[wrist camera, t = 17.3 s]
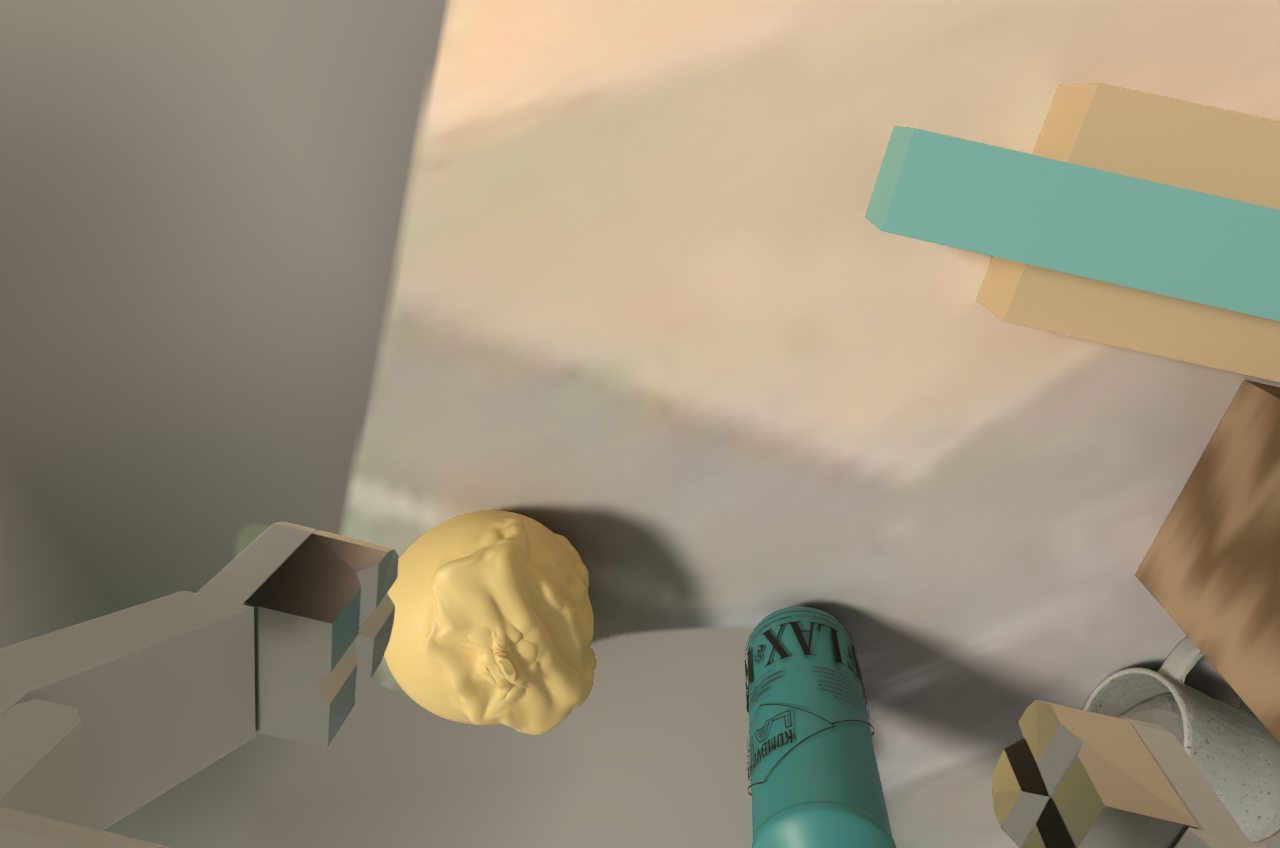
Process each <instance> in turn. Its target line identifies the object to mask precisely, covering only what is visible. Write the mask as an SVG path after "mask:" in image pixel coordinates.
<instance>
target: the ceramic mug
mask: <svg viewBox="0 0 1280 848" xmlns="http://www.w3.org/2000/svg"><path fill="white" fill-rule="evenodd" d="M1203 656H1204V655H1203V654H1202V652H1201V651H1200V650H1199V649H1198V648H1197V647H1196V645H1195V644H1194V643H1193V642H1192V641H1191V640H1190V638H1189V637H1187V638H1186V639H1184V640H1182V641H1181V642H1180V643H1179V644H1177V645H1176V646H1175V648H1174V649H1173V650H1172V652H1171V653H1170V654H1169V655H1168V657H1167V658H1166V659H1165V661H1164V663H1163V664H1162V666H1161V668H1160V669H1159V671H1158V672H1157V671H1154V670H1151V669H1148V668H1127V669H1124V670H1120V671H1117V672H1116V673H1114V674H1112V675H1111V676H1109V677H1107V678H1106V679H1105V680H1103V681H1102V682H1101V683H1100V684H1099V685H1098V686H1097V687H1096V688H1095V690H1094V691H1093V692H1092V694H1091V695H1090V696H1089V698H1088V700H1087V702H1086V704H1085V706H1084V709H1083V710H1085V711H1090V712H1094V713H1098V714H1103V715H1107V716H1112V717H1116V718H1117V717H1123V718H1128V719H1133V720H1138V721H1143V722H1147V723H1152V724H1157V725H1161V726H1163V727H1164V728H1166V729H1167V730H1168V731H1170V732H1171V733H1173V734H1174V735H1175V737H1176V738H1177V740H1178V741H1179V742H1180V744H1181V745H1182V747H1183V748H1184V749H1185V751H1186V752H1187V754H1188V755H1189V756H1190V758H1191V759H1192V761H1193V762H1194V764H1195V765H1196V766H1197V768H1198V769H1199V771H1200V772H1201V773H1202V775H1203V776H1204V778H1205V779H1206V780H1207V782H1208V783H1209V785H1210V786H1211V787H1212V789H1213V790H1214V792H1215V793H1216V795H1217V796H1218V797H1219V799H1220V800H1221V802H1222V803H1223V804H1224V806H1225V807H1226V809H1227V810H1228V811H1229V813H1230V814H1231V816H1232V817H1233V818H1234V820H1235V821H1236V823H1237V824H1238V826H1239V827H1240V828H1241V830H1242V831H1243V833H1244V834H1245V835H1246V837H1247V838H1248V840H1249V841H1250V842H1253V843H1256V842H1261V841H1264V840H1266V839H1268V838H1270V837H1272V836H1275V835H1276V834H1277V833H1279V832H1280V743H1279V742H1278V741H1277V740H1276V738H1275V737H1274V736H1273V735H1272V734H1271V733H1270V731H1269V730H1268V729H1267V728H1266V727H1265V726H1264V724H1263V723H1262V722H1261V721H1260V720H1259V719H1258V717H1257V716H1256V715H1255V714H1254V713H1253V712H1252V710H1251V709H1250V708H1249V707H1248V706H1247V705H1246V704H1245V702H1244V701H1243V700H1242V702H1241V704H1240V707H1239V708H1238V709H1236V708H1234V707H1233V706H1231V705H1228V704H1226V703H1224V702H1222V701H1220V700H1216V699H1213V698H1211V697H1209V696H1207V695H1205V694H1204V693H1202V692H1200V691H1198V690H1196V689H1195V688H1193V687H1190V686H1188V685H1185V684H1184V681H1185V678H1186V675H1187V674H1188V673H1189V672H1190V671H1191V669H1192V668H1193V667H1194V666H1195V665H1196V663H1197V662H1198V661H1199V660H1200V659H1201V658H1202V657H1203Z"/></svg>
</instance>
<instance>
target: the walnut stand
mask: <svg viewBox="0 0 1280 848" xmlns="http://www.w3.org/2000/svg"><path fill="white" fill-rule="evenodd" d="M1135 576H1136V577H1137V578H1138V579H1139V580H1140V581H1141V583H1142V584H1143V585H1144V586H1145V587H1146V588H1147V590H1148V591H1149V592H1150V593H1151V594H1152V595H1153V597H1154V598H1155V599H1156V600H1157V601H1158V602H1159V603H1160V605H1161V606H1162V607H1163V608H1164V609H1165V610H1166V612H1167V613H1168V614H1169V615H1170V616H1171V617H1172V619H1173V620H1174V621H1175V622H1176V623H1177V624H1178V626H1179V627H1180V628H1181V629H1182V630H1183V631H1184V633H1185V634H1186V635H1187V636H1188V637H1189V638H1190V640H1191V641H1192V642H1193V643H1194V644H1195V645H1196V647H1197V648H1198V649H1199V650H1200V651H1201V652H1202V654H1203V655H1204V656H1205V657H1206V658H1207V659H1208V660H1209V662H1210V663H1211V664H1212V665H1213V666H1214V667H1215V669H1216V670H1217V671H1218V672H1219V673H1220V674H1221V676H1222V677H1223V678H1224V679H1225V680H1226V681H1227V683H1228V684H1229V685H1230V686H1231V687H1232V688H1233V690H1234V691H1235V692H1236V693H1237V694H1238V695H1239V697H1240V698H1241V699H1242V700H1243V701H1244V702H1245V704H1246V705H1247V706H1248V707H1249V708H1250V709H1251V710H1252V712H1253V713H1254V714H1255V715H1256V716H1257V717H1258V719H1259V720H1260V721H1261V722H1262V723H1263V724H1264V726H1265V727H1266V728H1267V729H1268V730H1269V731H1270V733H1271V734H1272V735H1273V736H1274V737H1275V738H1276V740H1277V741H1278V742H1279V743H1280V388H1279V387H1274V386H1270V385H1265V384H1261V383H1256V382H1251V381H1247V380H1244V381H1243V383H1242V385H1241V387H1240V388H1239V390H1238V392H1237V394H1236V396H1235V397H1234V399H1233V401H1232V403H1231V405H1230V406H1229V408H1228V410H1227V412H1226V414H1225V415H1224V417H1223V419H1222V421H1221V422H1220V424H1219V426H1218V428H1217V430H1216V431H1215V433H1214V435H1213V437H1212V439H1211V440H1210V442H1209V444H1208V446H1207V448H1206V449H1205V451H1204V453H1203V455H1202V457H1201V458H1200V460H1199V462H1198V464H1197V465H1196V467H1195V469H1194V471H1193V473H1192V474H1191V476H1190V478H1189V480H1188V482H1187V483H1186V485H1185V487H1184V489H1183V491H1182V492H1181V494H1180V496H1179V498H1178V499H1177V501H1176V503H1175V505H1174V507H1173V508H1172V510H1171V512H1170V514H1169V516H1168V517H1167V519H1166V521H1165V523H1164V525H1163V526H1162V528H1161V530H1160V532H1159V534H1158V535H1157V537H1156V539H1155V541H1154V542H1153V544H1152V546H1151V548H1150V550H1149V551H1148V553H1147V555H1146V557H1145V559H1144V560H1143V562H1142V564H1141V566H1140V568H1139V569H1138V571H1137V573H1136V575H1135Z"/></svg>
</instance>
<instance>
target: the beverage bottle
mask: <svg viewBox="0 0 1280 848" xmlns="http://www.w3.org/2000/svg"><path fill="white" fill-rule="evenodd" d="M844 628H845V627H844V626H843V625H841V624H840V622H839V621H838V620H837V619H835V618H834V617H833V616H831V615H830V614H828V613H826V612H824V611H821V610H818V609H815V608H810V607H789V608H784V609H781V610H778V611H776V612H773V613H771V614H770V615H768V616H767V617H765V618H764V619H763V620H762V621H761V622H760V623H759V624H758V625H757V626H756V627H755V629H754V631H753V632H752V635H750V636H751V638H750V637H749V638H750V640H749V644H748V653H747V654H748V670H747V665H746V661H745V669H746V670H745V671H746V678H747V676H748V687H747V684H746V689H748V695H747V711H748V712H749V726H750V731H749V732H750V742H749V743H750V746H749V747H750V749H749V750H750V751H748V752H750V775H751V780H750V781H751V785H750V786H749V787H748V789H749V788H750V787H751V793H752V794H750V793H749V794H750V795H751V796H752V816H753V818H752V819H753V844H752V848H896V845H895V842H894V840H893V838H892V833H891V828H890V824H889V819H888V814H887V809H886V805H885V800H884V795H883V791H882V786H881V781H880V777H879V772H878V767H877V762H876V758H875V753H874V748H873V743H872V735H873V734H874V732H873V734H872V735H871V730H870V725H871V724H869V721H868V716H869V714H868V713H867V711H866V706H867V705H866V706H865V703H866V704H867V699H866V702H864V697H863V695H864V694H865V693H864V692H865V690H864V692H863V691H862V690H863V688H861V684H862V682H861V679H860V676H861V674H862V673H861V672H860V675H859V670H858V666H859V664H857V661H856V660H857V658H856V656H855V651H854V649H855V648H854V647H853V645H852V642H853V641H854V640H853V641H852V642H851V640H852V639H853V638H852V639H851V638H850V637H849V635H848V633H847V632H846V630H847V629H846V628H845V629H846V630H845V629H844ZM847 631H848V630H847ZM849 634H850V633H849ZM851 637H852V636H851ZM856 652H857V650H856ZM859 668H860V666H859ZM746 692H747V691H746ZM746 694H747V693H746ZM866 697H867V696H866ZM868 706H869V705H868ZM867 714H868V715H867ZM870 717H871V716H870ZM869 719H870V718H869ZM870 720H871V719H870ZM870 722H871V721H870ZM871 726H872V725H871ZM872 727H873V726H872ZM873 729H874V728H873ZM748 772H749V769H748ZM749 777H750V776H749V773H748V779H749Z"/></svg>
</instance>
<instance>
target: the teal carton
mask: <svg viewBox="0 0 1280 848" xmlns="http://www.w3.org/2000/svg"><path fill="white" fill-rule="evenodd" d="M865 218H866V219H867V220H869V221H870V222H871V223H872V224H873V225H875V226H876V227H877V228H878V229H879V230H881V231H884V232H888V233H893V234H897V235H901V236H906V237H910V238H915V239H919V240H924V241H928V242H932V243H937V244H941V245H946V246H950V247H954V248H959V249H963V250H968V251H972V252H976V253H981V254H985V255H990V256H994V257H998V258H1003V259H1007V260H1012V261H1016V262H1020V263H1025V264H1029V265H1034V266H1038V267H1042V268H1047V269H1051V270H1056V271H1060V272H1064V273H1069V274H1073V275H1078V276H1082V277H1086V278H1091V279H1095V280H1100V281H1104V282H1108V283H1113V284H1117V285H1122V286H1126V287H1131V288H1135V289H1139V290H1144V291H1148V292H1153V293H1157V294H1161V295H1166V296H1170V297H1175V298H1179V299H1183V300H1188V301H1192V302H1197V303H1201V304H1205V305H1210V306H1214V307H1219V308H1223V309H1227V310H1232V311H1236V312H1241V313H1245V314H1249V315H1254V316H1258V317H1263V318H1267V319H1271V320H1276V321H1280V210H1277V209H1272V208H1268V207H1263V206H1259V205H1254V204H1250V203H1245V202H1241V201H1236V200H1232V199H1227V198H1223V197H1219V196H1214V195H1210V194H1205V193H1201V192H1196V191H1192V190H1187V189H1183V188H1178V187H1174V186H1170V185H1165V184H1161V183H1156V182H1152V181H1147V180H1143V179H1138V178H1134V177H1129V176H1125V175H1120V174H1116V173H1112V172H1107V171H1103V170H1098V169H1094V168H1089V167H1085V166H1080V165H1076V164H1071V163H1067V162H1063V161H1058V160H1054V159H1049V158H1045V157H1040V156H1036V155H1031V154H1027V153H1022V152H1018V151H1013V150H1009V149H1005V148H1000V147H996V146H991V145H987V144H982V143H978V142H973V141H969V140H964V139H960V138H955V137H951V136H947V135H942V134H938V133H933V132H929V131H924V130H920V129H915V128H908V127H901V126H894V128H893V131H892V134H891V137H890V140H889V143H888V147H887V150H886V153H885V156H884V159H883V162H882V165H881V169H880V172H879V175H878V178H877V181H876V184H875V187H874V190H873V194H872V197H871V200H870V203H869V206H868V209H867V212H866V215H865Z"/></svg>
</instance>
